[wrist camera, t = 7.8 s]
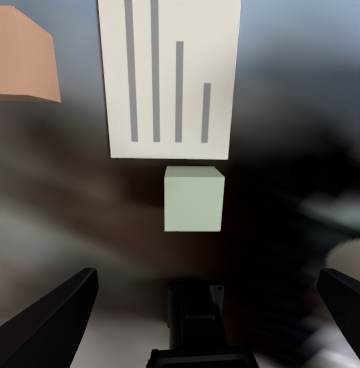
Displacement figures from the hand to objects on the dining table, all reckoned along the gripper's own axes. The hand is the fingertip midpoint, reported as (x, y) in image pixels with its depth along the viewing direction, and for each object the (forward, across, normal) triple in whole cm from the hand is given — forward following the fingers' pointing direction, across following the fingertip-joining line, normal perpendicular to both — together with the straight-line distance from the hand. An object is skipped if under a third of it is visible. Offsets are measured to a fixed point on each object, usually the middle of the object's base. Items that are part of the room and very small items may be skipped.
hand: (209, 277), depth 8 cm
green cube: (+12, 0, 0) cm, 12 cm away
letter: (+12, +2, -10) cm, 16 cm away
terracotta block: (+12, +14, -10) cm, 21 cm away
